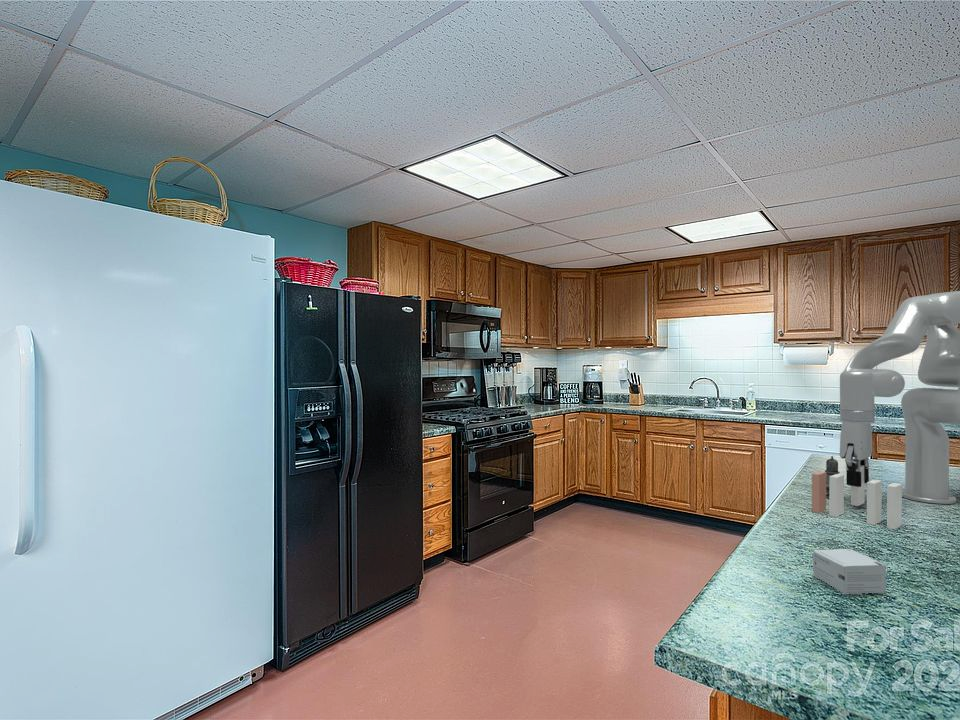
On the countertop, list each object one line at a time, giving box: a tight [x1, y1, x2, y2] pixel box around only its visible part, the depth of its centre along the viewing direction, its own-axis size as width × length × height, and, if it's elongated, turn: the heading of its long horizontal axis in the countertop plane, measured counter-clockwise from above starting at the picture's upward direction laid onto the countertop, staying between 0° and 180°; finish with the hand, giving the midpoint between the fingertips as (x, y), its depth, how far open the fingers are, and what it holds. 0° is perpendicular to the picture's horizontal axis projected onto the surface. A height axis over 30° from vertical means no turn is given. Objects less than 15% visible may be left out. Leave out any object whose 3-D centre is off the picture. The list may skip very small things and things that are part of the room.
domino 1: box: [828, 473, 845, 518], centre depth 134 cm, size 5×2×10 cm, turn 127°
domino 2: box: [850, 465, 866, 507], centre depth 140 cm, size 5×2×10 cm, turn 128°
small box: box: [812, 548, 887, 595], centre depth 92 cm, size 8×8×5 cm
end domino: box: [811, 470, 827, 514], centre depth 137 cm, size 5×2×10 cm, turn 127°
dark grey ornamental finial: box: [824, 455, 841, 499], centre depth 150 cm, size 6×6×12 cm
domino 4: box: [886, 482, 903, 530], centre depth 124 cm, size 5×2×10 cm, turn 127°
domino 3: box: [866, 479, 883, 526], centre depth 127 cm, size 5×2×10 cm, turn 127°
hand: (857, 483), depth 140 cm, fingers closed on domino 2, 4 cm apart
